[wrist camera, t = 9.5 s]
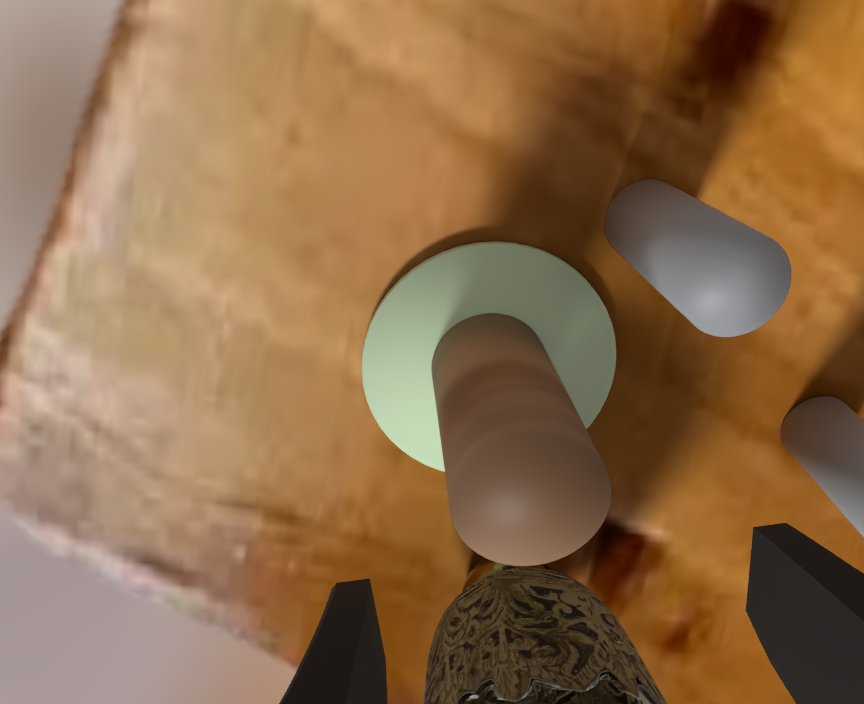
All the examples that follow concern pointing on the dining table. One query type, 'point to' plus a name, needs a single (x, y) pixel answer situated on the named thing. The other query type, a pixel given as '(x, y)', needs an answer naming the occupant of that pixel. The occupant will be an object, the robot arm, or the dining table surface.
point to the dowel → (514, 445)
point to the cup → (532, 644)
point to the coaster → (472, 295)
